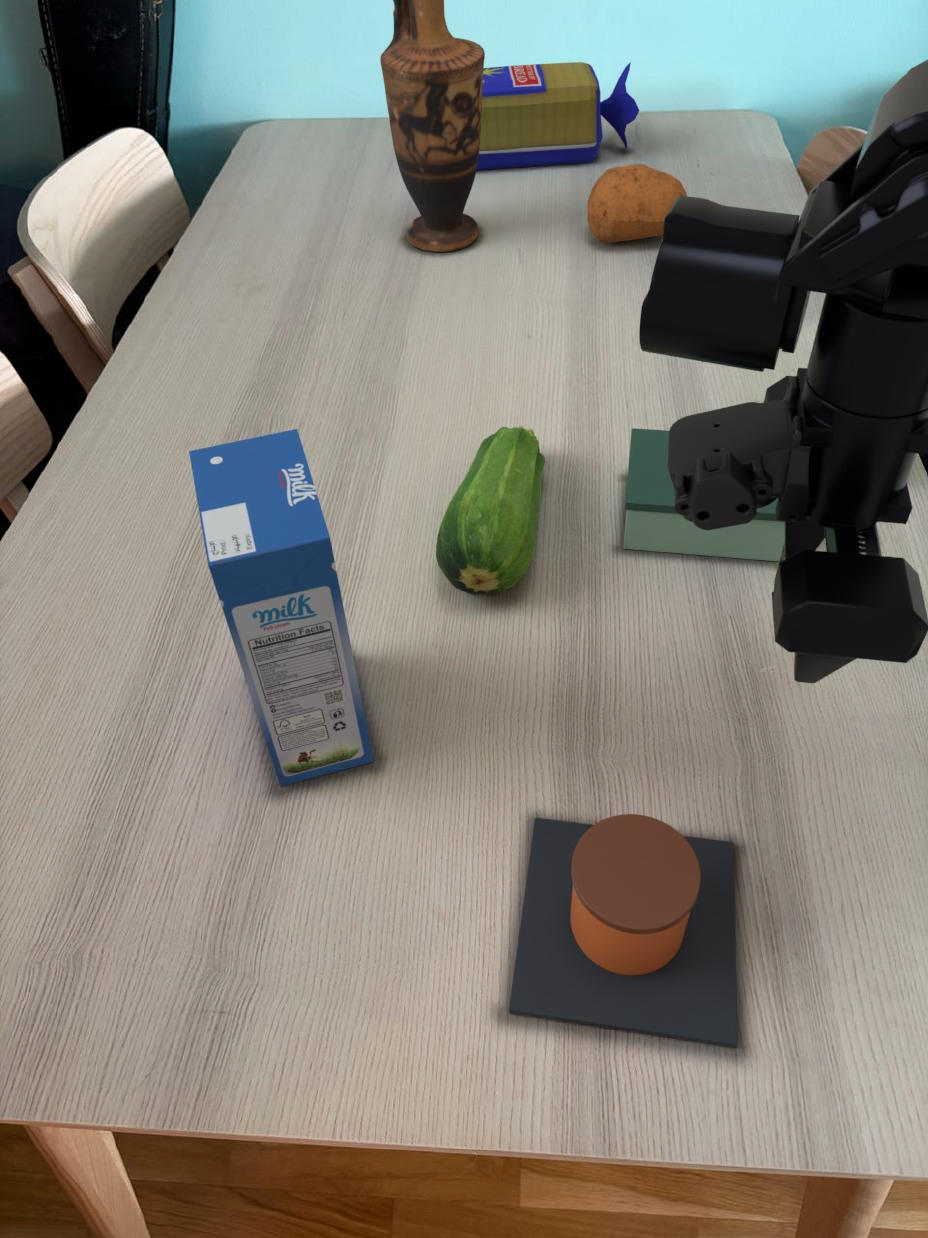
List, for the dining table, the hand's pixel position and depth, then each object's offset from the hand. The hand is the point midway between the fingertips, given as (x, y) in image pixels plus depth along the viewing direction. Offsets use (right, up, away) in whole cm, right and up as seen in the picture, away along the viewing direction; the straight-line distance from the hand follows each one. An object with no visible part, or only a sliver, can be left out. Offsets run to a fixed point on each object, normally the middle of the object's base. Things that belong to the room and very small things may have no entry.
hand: (798, 618), depth 55 cm
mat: (-10, -18, +1) cm, 20 cm away
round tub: (-10, -17, 0) cm, 20 cm away
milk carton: (-29, -7, +12) cm, 32 cm away
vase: (-21, +45, +60) cm, 78 cm away
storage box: (0, +8, +24) cm, 25 cm away
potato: (+1, +44, +58) cm, 73 cm away
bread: (-10, +62, +75) cm, 97 cm away
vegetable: (-16, +7, +24) cm, 30 cm away
